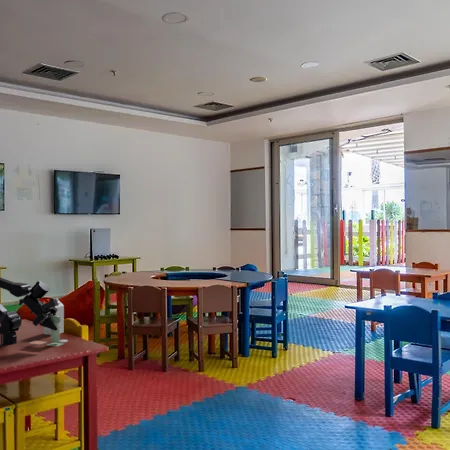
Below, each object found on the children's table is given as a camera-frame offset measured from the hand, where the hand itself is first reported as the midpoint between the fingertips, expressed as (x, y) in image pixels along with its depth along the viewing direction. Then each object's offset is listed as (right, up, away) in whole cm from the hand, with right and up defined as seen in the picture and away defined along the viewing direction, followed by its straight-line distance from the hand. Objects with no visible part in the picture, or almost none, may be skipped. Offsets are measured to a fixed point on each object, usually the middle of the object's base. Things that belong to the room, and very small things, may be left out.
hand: (58, 329), depth 229 cm
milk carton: (-11, -8, +24) cm, 27 cm away
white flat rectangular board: (-5, -8, +4) cm, 11 cm away
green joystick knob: (-1, -6, 0) cm, 6 cm away
